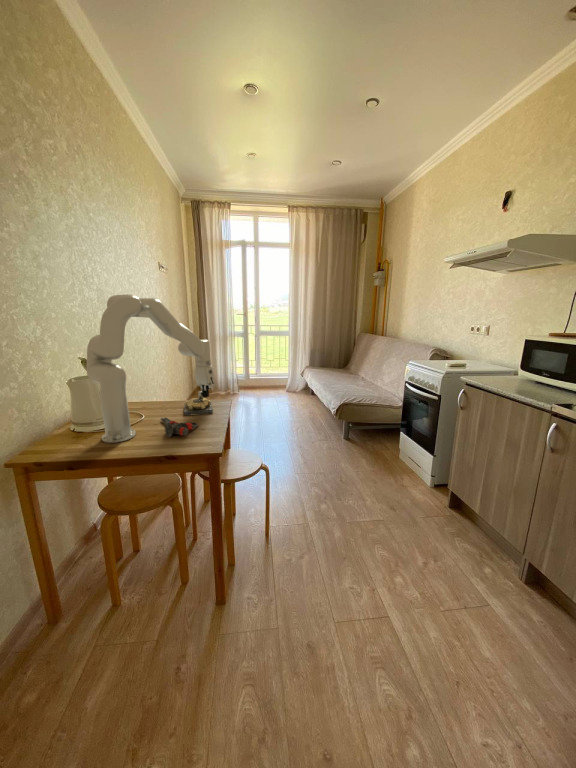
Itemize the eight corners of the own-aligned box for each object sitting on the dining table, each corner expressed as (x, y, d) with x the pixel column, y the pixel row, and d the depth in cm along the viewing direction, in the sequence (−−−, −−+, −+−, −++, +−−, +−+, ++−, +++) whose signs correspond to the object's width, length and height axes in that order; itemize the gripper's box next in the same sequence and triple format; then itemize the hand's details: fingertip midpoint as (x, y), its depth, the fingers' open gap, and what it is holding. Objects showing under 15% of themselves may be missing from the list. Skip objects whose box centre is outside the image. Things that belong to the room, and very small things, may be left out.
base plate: (212, 413, 157) (212, 409, 157) (184, 415, 153) (184, 412, 153) (211, 404, 171) (210, 400, 171) (184, 406, 167) (184, 403, 167)
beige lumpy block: (214, 406, 161) (213, 394, 159) (192, 411, 153) (191, 398, 152) (203, 400, 170) (202, 389, 169) (182, 404, 163) (181, 393, 161)
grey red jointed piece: (206, 437, 134) (172, 441, 124) (182, 422, 153) (151, 425, 143) (207, 423, 133) (173, 426, 124) (183, 410, 153) (152, 412, 143)
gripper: (218, 363, 158) (220, 397, 163) (199, 361, 166) (201, 393, 171) (208, 366, 152) (210, 401, 157) (188, 363, 160) (190, 396, 165)
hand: (205, 396), depth 164 cm, fingers closed
